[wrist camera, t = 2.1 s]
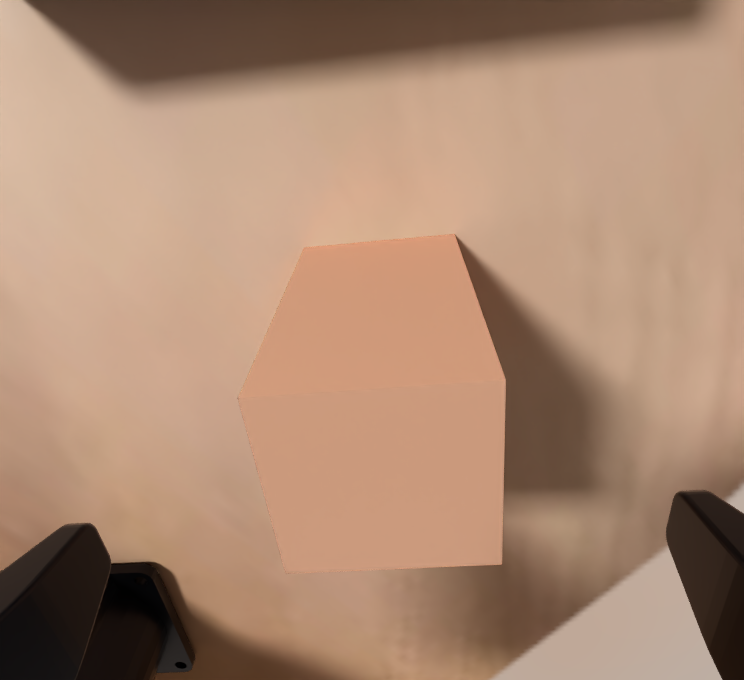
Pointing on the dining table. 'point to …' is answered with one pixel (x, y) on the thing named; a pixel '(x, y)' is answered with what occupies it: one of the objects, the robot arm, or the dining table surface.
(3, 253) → the dining table surface
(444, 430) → the block
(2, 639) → the robot arm
